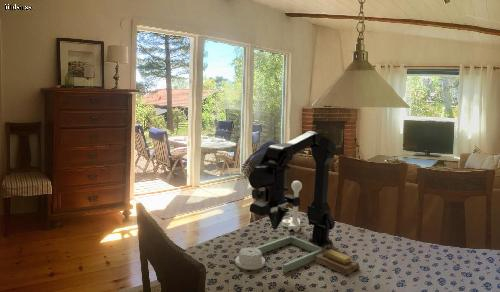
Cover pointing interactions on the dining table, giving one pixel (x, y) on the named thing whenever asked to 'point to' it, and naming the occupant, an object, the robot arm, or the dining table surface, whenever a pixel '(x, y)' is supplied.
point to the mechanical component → (250, 259)
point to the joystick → (294, 210)
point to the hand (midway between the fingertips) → (274, 229)
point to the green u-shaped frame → (297, 242)
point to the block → (337, 257)
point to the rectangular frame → (337, 264)
